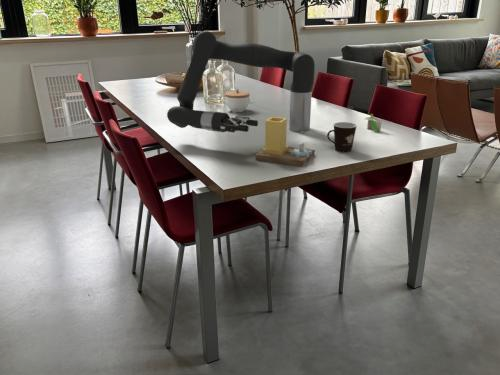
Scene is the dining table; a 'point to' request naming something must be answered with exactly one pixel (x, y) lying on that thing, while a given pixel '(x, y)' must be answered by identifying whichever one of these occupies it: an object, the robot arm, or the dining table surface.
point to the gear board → (285, 157)
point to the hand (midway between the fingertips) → (252, 126)
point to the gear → (301, 151)
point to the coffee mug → (343, 136)
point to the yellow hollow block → (275, 136)
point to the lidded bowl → (237, 100)
